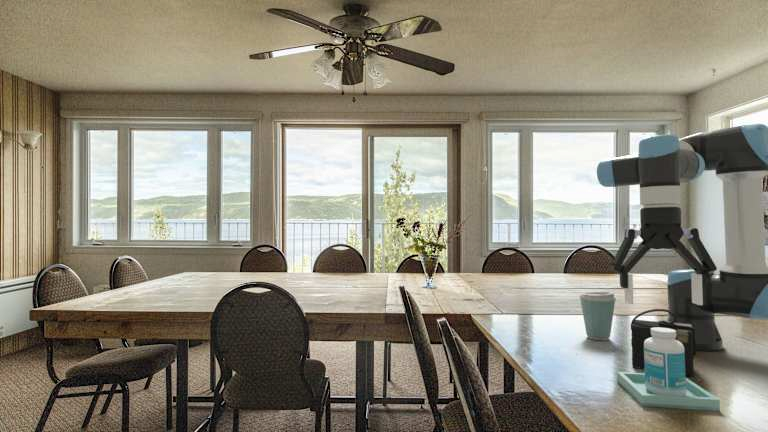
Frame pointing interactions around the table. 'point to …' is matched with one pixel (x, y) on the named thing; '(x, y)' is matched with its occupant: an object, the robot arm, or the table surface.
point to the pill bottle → (664, 363)
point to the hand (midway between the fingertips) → (662, 303)
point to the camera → (643, 332)
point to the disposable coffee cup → (598, 314)
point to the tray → (691, 400)
